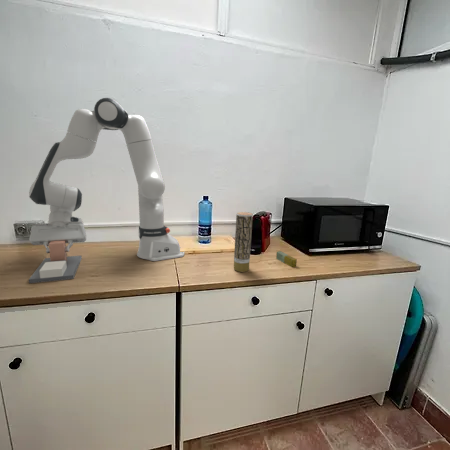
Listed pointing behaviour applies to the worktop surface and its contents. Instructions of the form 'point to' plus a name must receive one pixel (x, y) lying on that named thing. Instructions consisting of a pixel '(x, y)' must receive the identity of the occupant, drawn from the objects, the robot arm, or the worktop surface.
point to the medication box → (286, 259)
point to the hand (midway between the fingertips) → (57, 251)
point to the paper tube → (242, 241)
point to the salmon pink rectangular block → (57, 250)
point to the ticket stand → (56, 270)
